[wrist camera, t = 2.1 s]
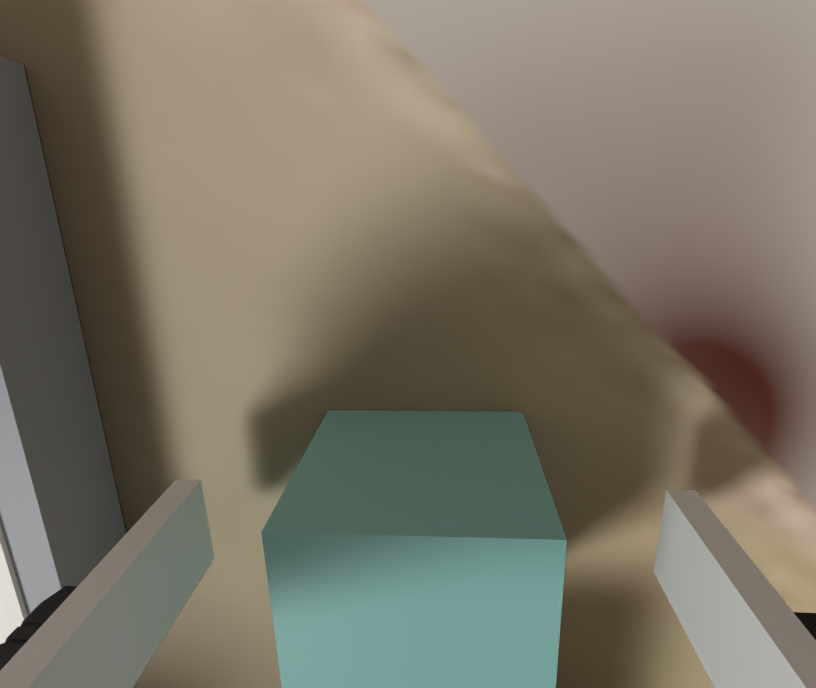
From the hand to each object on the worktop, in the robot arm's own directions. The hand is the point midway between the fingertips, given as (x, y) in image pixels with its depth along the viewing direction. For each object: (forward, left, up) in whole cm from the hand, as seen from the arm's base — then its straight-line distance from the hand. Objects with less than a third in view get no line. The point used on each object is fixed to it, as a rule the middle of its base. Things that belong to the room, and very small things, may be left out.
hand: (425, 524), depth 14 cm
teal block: (0, 0, -2) cm, 2 cm away
